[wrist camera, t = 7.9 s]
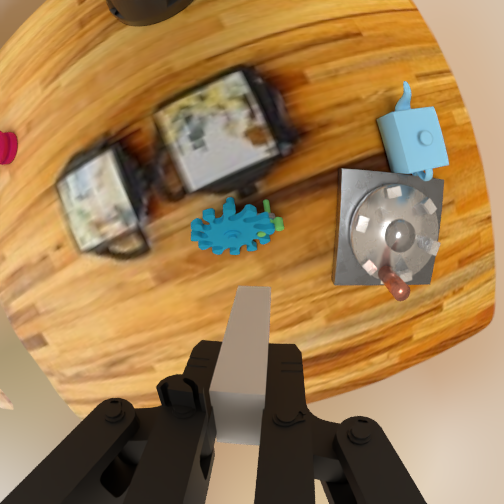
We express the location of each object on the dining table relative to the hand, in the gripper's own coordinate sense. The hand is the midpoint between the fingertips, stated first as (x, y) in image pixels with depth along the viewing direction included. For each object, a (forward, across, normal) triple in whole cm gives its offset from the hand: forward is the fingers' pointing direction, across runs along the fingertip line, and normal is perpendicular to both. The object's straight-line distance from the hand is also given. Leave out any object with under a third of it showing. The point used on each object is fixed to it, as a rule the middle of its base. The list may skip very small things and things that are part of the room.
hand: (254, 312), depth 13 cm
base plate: (+24, +16, -2) cm, 29 cm away
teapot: (+25, +17, +11) cm, 32 cm away
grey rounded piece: (+22, +16, -1) cm, 28 cm away
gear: (+25, -4, -2) cm, 25 cm away
